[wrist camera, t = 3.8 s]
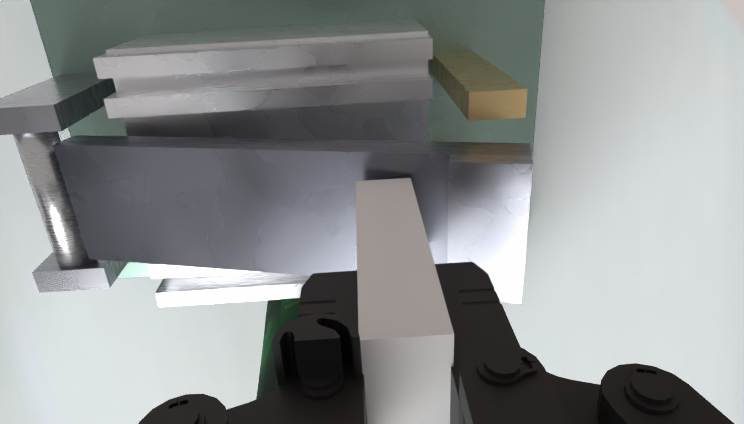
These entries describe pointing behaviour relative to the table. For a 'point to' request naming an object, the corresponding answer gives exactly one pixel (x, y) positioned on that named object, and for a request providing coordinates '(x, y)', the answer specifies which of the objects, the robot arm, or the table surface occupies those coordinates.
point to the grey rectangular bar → (292, 201)
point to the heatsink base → (262, 96)
